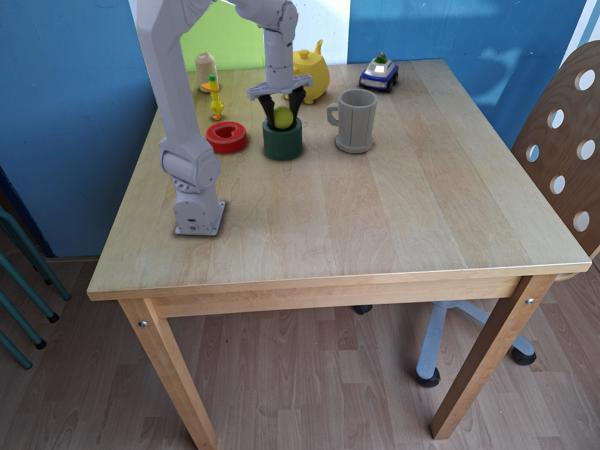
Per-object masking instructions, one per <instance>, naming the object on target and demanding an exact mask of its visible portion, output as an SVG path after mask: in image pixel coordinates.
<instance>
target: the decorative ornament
mask: <svg viewBox="0 0 600 450" xmlns="http://www.w3.org/2000/svg"><path fill="white" fill-rule="evenodd" d="M205 139H206V140H207V141H208V142H209V144H210V145H211V146H212V147H213V151H214V153H216V154H217V153H218V154H231V153H237V152H239V151H240V150H243V149H244V148H245V147H246V145H247V144H248V135H247V129H246V127H245V126H244V125H243V124H241V123H240V122H237V121H231V120H227V121H219V122H217V123H214V124H212V125H210V126H209V127H208V128H207V129H206V131H205Z"/></svg>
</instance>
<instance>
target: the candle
mask: <svg viewBox="0 0 600 450" xmlns="http://www.w3.org/2000/svg"><path fill="white" fill-rule="evenodd" d="M194 64H195V65H194V66H195V69H196V75H197V80H198V86H199V90H200V91H201V92H202V93H203V92H204V93H210V92H209V91H206V90H204V89H203V88H202V86H201V85H202V84H205V83H209V82H208V81H209V80H208V78H209V75H210V74H215V75H216V78H217V82H218V87H219V88H220V84H219V79H218V71H217V65H216V59H215V57H214V56H213V55H212V54H210V53H209V52H207V51H205V52H203V53H201V52H200V53H197V55H196V57H195V58H194Z"/></svg>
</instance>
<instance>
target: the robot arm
mask: <svg viewBox="0 0 600 450" xmlns="http://www.w3.org/2000/svg"><path fill="white" fill-rule="evenodd" d="M221 1H222V2H224V3H227V4H229V5H232V6H234V10H235V12H236V14H237V15H238V16H239V17H240V18H242V19H244V20H246V21H249V22H251V23H253V24H255V25H256V27H257V28H258V29H262V37H263V38H262V39H263V51H264V64H265V81H263V82H260V83H258V84H256V85H254V86H252V87H248V88H246V97H247V99H248V100H249V101H250V102H254V101H255V100H256V99H257V100H258V102H259V103H260V105H261V108H262V109H263V112H264V114H265V116H266V117H265V118H267V120H268V124H269V125H270V126H271V127H274V124H275V122H274V109H275V104H276V102H275V101H274V99H273V98H272V95H275V94H276V95H277V94H282V95H284V96H286V94H288V98H289V99H288V108H289V109H290V110H291V111H292V113H293V121H296V119H297V117H298V115H299V110H300V108H301V105H302V103H303V101H305V99H304V98H305V97H306V91H305V90H304V87H305V86H308V87H311V86H313V78H312V77H311V76H310V75H309V74H308V75H302V76H294V75H293V52H294V46H293V45H294V44H293V43H294V42H293V41H295V39H296V28H297V26H298V22H299V16H300V15H299V14H300V13H299V12H298V9H297V6H296V5H295V4H294V3H293V1H291V0H221ZM217 2H218V0H136V22H135V23H136V24H135V29H136V34H137V38H138V41H139V45H140V48H141V53H142V56H143V59H144V62H145V66H146V70H147V73H148V77H149V80H150V83H151V87H152V90H153V95H154V97H155V101H156V104H157V107H158V111H159V115H160V118H161V122H162V125H163V127H164V128H163V129H164V132H165V136H163V138H161V140H160V141H159V142H158V148H159V152H160V154H159V167H160V168H161V170H162V172H164V173H165V174H167V175H169V177H170V180H171V181H172V182H173V185H174V190H175V194H176V195H175V196H176V198H175V203H174V206H173V215H174V217H175V221H176V227H175V231H174V233H175V235H190V236H191V235H192V236H217V235H218V231H219V228H220V224H221V221H222V218H223V213H224V210H225V206H226V202H225V201H223V200H219V199H218V194H217V188H216V183H217V181H218V180H219V178H220V174H221V162H220V159H219V158H218V157H217V155H216V154H215V152H214V151H213V147H212V146H211V145H210V144H209V142H208V141H207V139H206V137H205V136H204V135H202V133H201V131H200V126H199V122H198V117H197V112H196V107H195V104H194V98H193V95H192V90H191V85H190V80H189V76H188V71H187V67H186V62H185V58H184V57H185V56H184V54H183V49H182V43H181V39H182V37H183V35H185V34H188V33H189V32H190V30H191V29H192V28H193V27H194V26H195V25H196V24H197V22H198V21H199V20H200V19H201V18H202V17H203V16H204V14H206V12H207V11H208V10H209V9H210V7H211V6H212V4H213V3H217Z"/></svg>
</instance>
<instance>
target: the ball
mask: <svg viewBox="0 0 600 450" xmlns="http://www.w3.org/2000/svg"><path fill="white" fill-rule="evenodd" d="M274 122H275V124H274V126H275V127H277V128H279V129H285V128H288V127H289V126H290V125H291V124H292V122H293V113H292V111H291V110H290V109H289V106H285V105H279V106H277V107H274Z"/></svg>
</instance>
